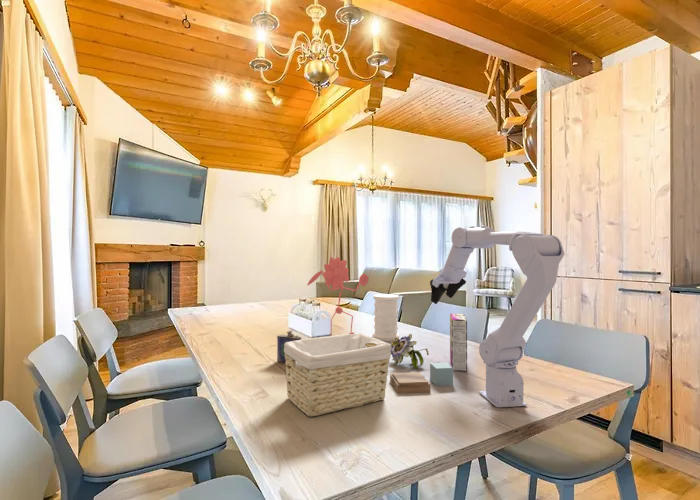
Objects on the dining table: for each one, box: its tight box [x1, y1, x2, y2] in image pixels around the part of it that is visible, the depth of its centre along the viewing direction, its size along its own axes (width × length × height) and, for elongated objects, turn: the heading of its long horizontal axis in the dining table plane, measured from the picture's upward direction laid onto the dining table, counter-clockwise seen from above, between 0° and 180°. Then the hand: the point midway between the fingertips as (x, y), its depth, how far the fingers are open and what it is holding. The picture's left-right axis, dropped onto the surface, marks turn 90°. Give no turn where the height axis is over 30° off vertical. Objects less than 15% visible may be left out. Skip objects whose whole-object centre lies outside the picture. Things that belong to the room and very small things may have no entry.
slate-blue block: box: [429, 362, 454, 387], centre depth 110 cm, size 5×5×5 cm
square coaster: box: [389, 371, 431, 394], centre depth 106 cm, size 9×9×2 cm
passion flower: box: [390, 333, 430, 370], centre depth 127 cm, size 11×11×12 cm
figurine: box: [306, 256, 370, 336], centre depth 147 cm, size 15×26×35 cm, turn 127°
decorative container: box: [371, 293, 400, 342], centre depth 164 cm, size 12×12×18 cm
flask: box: [276, 330, 302, 365], centre depth 127 cm, size 9×3×11 cm, turn 65°
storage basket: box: [284, 333, 392, 417], centre depth 97 cm, size 24×16×15 cm
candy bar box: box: [449, 312, 468, 372], centre depth 125 cm, size 11×5×16 cm, turn 168°
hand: (441, 299), depth 122 cm, fingers open, 7 cm apart
